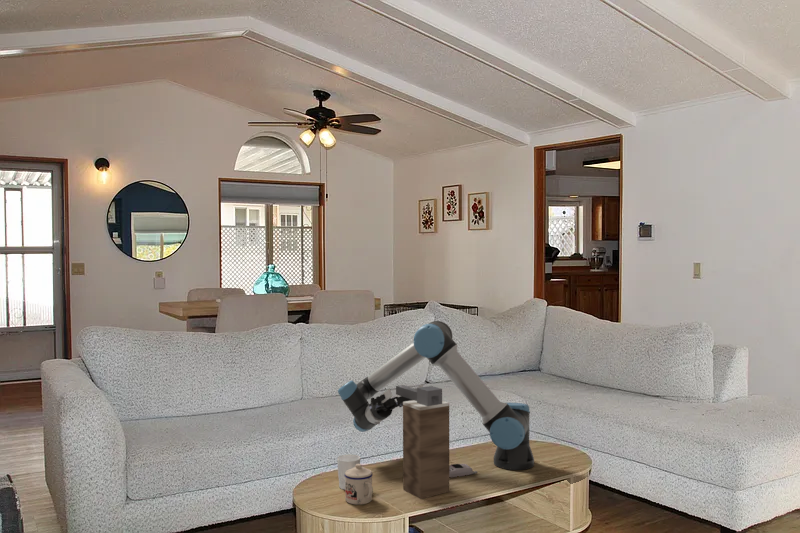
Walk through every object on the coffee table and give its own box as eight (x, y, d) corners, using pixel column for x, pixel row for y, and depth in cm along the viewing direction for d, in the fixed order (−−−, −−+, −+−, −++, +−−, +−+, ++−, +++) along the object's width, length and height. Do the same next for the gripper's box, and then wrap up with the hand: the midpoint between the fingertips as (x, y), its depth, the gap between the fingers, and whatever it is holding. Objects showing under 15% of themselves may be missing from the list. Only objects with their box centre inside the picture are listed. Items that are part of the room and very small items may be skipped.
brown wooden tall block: (403, 489, 234) (402, 401, 233) (431, 483, 241) (431, 397, 240) (420, 498, 226) (420, 407, 225) (449, 491, 233) (449, 402, 232)
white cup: (333, 485, 239) (333, 456, 239) (354, 481, 243) (354, 453, 243) (343, 492, 232) (343, 462, 232) (364, 488, 236) (364, 459, 236)
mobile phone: (407, 461, 247) (471, 454, 255) (407, 477, 248) (471, 469, 256) (413, 466, 242) (478, 458, 250) (413, 483, 242) (478, 475, 250)
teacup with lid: (339, 499, 226) (339, 463, 226) (362, 493, 232) (362, 458, 231) (359, 510, 217) (359, 473, 216) (383, 503, 222) (383, 467, 222)
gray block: (392, 394, 244) (392, 380, 244) (406, 392, 248) (406, 379, 247) (427, 406, 227) (427, 391, 227) (442, 403, 230) (442, 388, 230)
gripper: (409, 415, 263) (438, 396, 247) (352, 425, 249) (379, 405, 233) (404, 396, 266) (432, 376, 250) (347, 405, 252) (373, 384, 236)
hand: (406, 390), depth 242 cm, fingers open, 13 cm apart
